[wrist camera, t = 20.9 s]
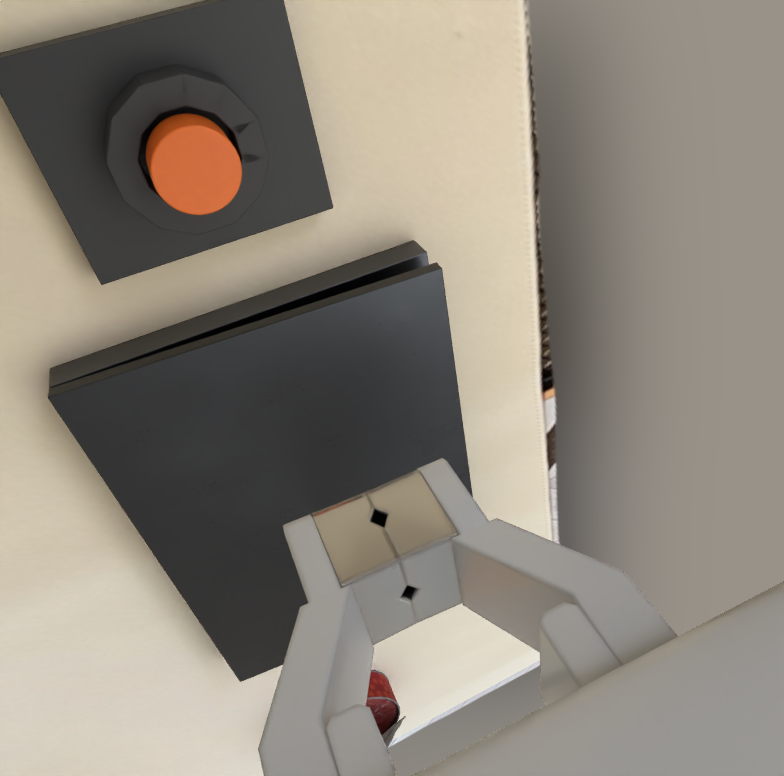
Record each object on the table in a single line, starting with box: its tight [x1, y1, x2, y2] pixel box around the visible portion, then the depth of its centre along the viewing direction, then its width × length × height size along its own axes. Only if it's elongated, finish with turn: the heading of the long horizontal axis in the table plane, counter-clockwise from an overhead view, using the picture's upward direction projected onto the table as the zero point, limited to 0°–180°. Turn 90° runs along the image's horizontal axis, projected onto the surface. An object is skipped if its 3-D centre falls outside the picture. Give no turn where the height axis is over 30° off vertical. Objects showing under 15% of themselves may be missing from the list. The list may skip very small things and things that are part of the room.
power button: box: [146, 113, 242, 215], centre depth 27 cm, size 4×4×2 cm
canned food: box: [366, 670, 406, 748], centre depth 61 cm, size 11×10×10 cm
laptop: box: [49, 241, 429, 388], centre depth 45 cm, size 21×30×2 cm
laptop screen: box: [48, 263, 473, 682], centre depth 43 cm, size 21×30×1 cm
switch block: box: [0, 0, 333, 285], centre depth 29 cm, size 12×10×4 cm
